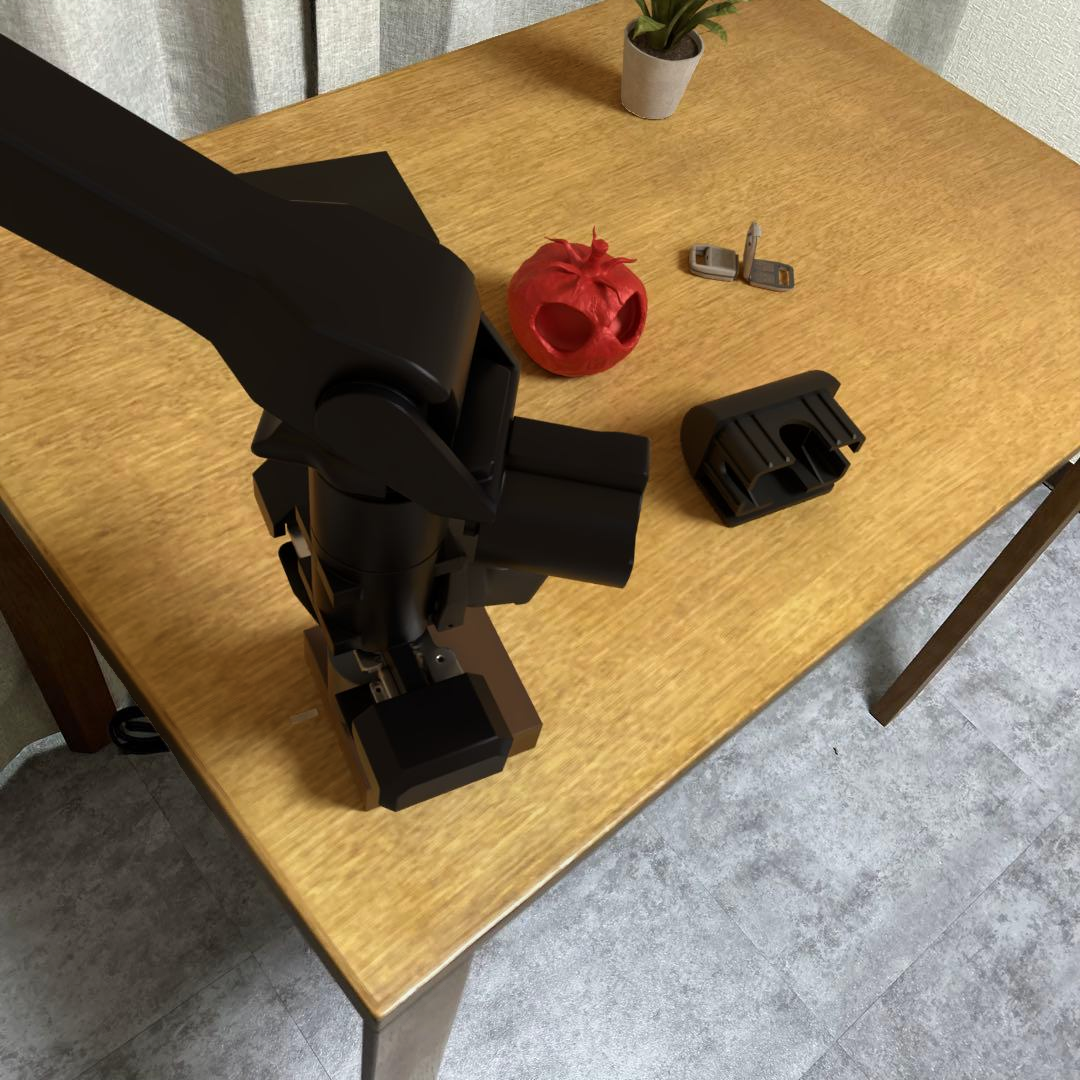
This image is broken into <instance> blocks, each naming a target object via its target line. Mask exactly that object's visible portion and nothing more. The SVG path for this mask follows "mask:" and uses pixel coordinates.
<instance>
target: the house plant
mask: <svg viewBox="0 0 1080 1080" xmlns="http://www.w3.org/2000/svg"><path fill="white" fill-rule="evenodd" d="M634 1H635V2H636V4H637V5H638V6H639V8H640V10H641V12H642V14H640V15H638V17H636V18H633V19H631V20H630V21H629V22H628V23H627V24H626V26H625V27H624V30H623V34H624V35H623V50H622V69H621V70H622V71H621V87H620V88H621V89H620V93H621V94H620V101H621V100H622V102H621V104H622V103H623V104H624V106H625V107H626V108H627V109H628V110H630V111H631V112H634V113H635V114H637V115H639V116H641V117H645V118H653V119H658V118H659V119H660V118H665V117H668V116H670V115H672V114H673V113H674V114H675V113H676V110H677V108H678V106H679V104H680V102H681V100H682V98H683V95H684V94H685V91H686V89H687V87H688V85H689V83H690V81H691V78H692V76H693V75H694V72H695V71H696V69H697V66H698V64H699V62H700V60H701V58H702V55H703V54H704V51H705V42H704V40H703V38H702V36H701V35H702V34H704V33H712V34H714V35H716V36H717V37H718V38H719V39H721V40H722V41H723V43H724V44H725V46H726V48H728V34H727V32H726V29H725V28H724V27H723V26H722V25H721V24H720V23H719V22H716V21H714V20H711V18H716V17H720V16H727V15H732V14H740V15H742V14H743V13H742V12H741V11H740V9H738V8H737V7H736V6H735V4H736V5H737V6H739V5H738V4H739V3H745V2H746V3H750V2H751V3H752V2H755V0H724V1H722V2H715V1H714V0H650V5H651V6H650V9H651V12H650V11H649V8H648V5H647V2H646V0H634ZM708 1H709V2H711V3H713V4H711V5H708V6H706V7H703V6H705V4H707V2H708ZM702 7H703V8H702ZM701 8H702V9H701ZM700 9H701V10H700ZM699 25H701V26H703V27H705V28H707V29H708V30H706V31H705V32H700V33H698V31H697V30H695V29H696V28H697V27H698V26H699ZM624 106H623V107H624ZM674 114H673V115H674ZM673 115H672V116H673Z"/></svg>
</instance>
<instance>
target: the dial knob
mask: <svg viewBox="0 0 1080 1080" xmlns="http://www.w3.org/2000/svg"><path fill="white" fill-rule="evenodd" d="M412 645H413V644H410V646H411V648H412ZM327 650H328V701H329V704H330V707H331V709H332V711H333V713H334V714H335V716H336V717H337V718H338V719H339V720H340V721H341V722H342V723H344V724H345V725H346V723H345V721H344V718H343V716H342V713H341V711H340V708H339V706H338V703H337V701H336V698H335V694H336V693H339V692H342V691H345V690H348V689H351V688H354V687H357V686H360V685H363V684H366V683H369V682H372V681H375V680H378V679H379V677H378V670H377V671H374V672H371V673H364V672H362V670H361V668H360V666H359V663H358V661H357V659H356V656H355V654H354V652H353V651H350V652H347V653H344V654H341V655H337V656H333V654H332V652H331V649H330V647H329V644H328V647H327ZM415 652H417V651H413V653H414V655H415ZM375 654H380V655H381V659H380V660H379V661H383V662H384V666H387V665H386V663H385V661H384V658H383V656H382V654H381V652H377V653H375ZM384 666H383V667H384Z"/></svg>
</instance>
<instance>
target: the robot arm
mask: <svg viewBox="0 0 1080 1080" xmlns="http://www.w3.org/2000/svg"><path fill="white" fill-rule="evenodd" d="M235 174H236V173H234V172H232V171H230V170H229V169H227V168H225V167H224V166H222V165H221V164H219V163H217V162H215V161H214V160H213V159H211V158H209V157H207V156H205V154H202V153H200V152H199V151H197V150H196V149H194V148H193V147H190V146H189V145H187V144H186V143H184V142H182V141H181V140H179V139H177V138H176V137H174V136H172V135H171V134H169V133H167V132H166V131H164V130H163V129H161V128H159V127H157V126H156V125H154V124H153V123H151V122H149V121H147V120H146V119H144V118H142V117H140V116H139V115H138V114H136V113H134V112H133V111H131V110H129V109H127V108H126V107H125V106H122V105H121V104H119V103H118V102H116V101H115V100H113V99H111V98H109V97H107V96H106V95H104V94H102V93H101V92H99V91H98V90H96V89H95V88H92V87H91V86H89V85H88V84H85V82H83V81H81V80H79V79H78V78H76V77H74V76H73V75H71V74H69V73H68V72H66V71H64V70H63V69H61V68H59V67H57V66H56V65H54V64H52V63H51V62H49V61H48V60H46V59H44V58H43V57H41V56H39V54H36V53H35V52H33V51H31V50H29V49H28V48H26V47H25V46H23V45H21V44H19V43H18V42H16V41H15V40H13V39H11V38H9V37H8V36H6V35H5V34H3V33H1V32H0V227H1V228H3V229H5V230H7V231H9V232H10V233H12V234H14V235H16V236H18V237H20V238H22V239H24V240H25V241H27V242H29V243H31V244H33V245H35V246H37V247H39V248H40V249H43V250H45V251H46V252H48V253H50V254H52V255H53V256H56V257H58V258H60V259H61V260H63V261H65V262H67V263H69V264H71V265H72V266H74V267H77V268H78V269H80V270H82V271H84V272H86V273H88V274H90V275H92V276H94V277H95V278H97V279H99V280H100V281H103V282H105V283H107V284H109V285H110V286H112V287H114V288H116V289H118V290H120V291H121V292H124V293H126V294H128V295H129V296H132V297H133V298H135V299H137V300H138V301H141V302H143V303H144V304H146V305H148V306H150V307H152V308H153V309H156V310H158V311H159V312H162V313H163V314H165V315H167V316H169V317H171V318H173V319H175V320H176V321H178V322H180V323H181V324H183V325H184V326H186V327H188V328H189V329H191V330H192V331H193V332H195V333H196V334H198V336H201V337H202V338H203V339H205V340H207V341H208V342H209V343H210V344H211V345H212V346H213V347H214V349H215V350H216V352H217V353H218V355H219V356H220V358H221V359H222V361H224V363H225V365H226V366H227V367H228V369H229V370H230V372H231V373H232V374H233V376H234V377H235V379H236V381H238V383H239V385H240V386H241V387H242V389H243V390H244V391H245V393H246V394H247V395H248V397H249V398H250V399H251V400H252V402H254V404H256V405H257V406H258V407H260V408H262V409H263V410H262V412H261V416H260V417H259V421H258V424H257V427H256V428H255V429H256V430H255V432H254V435H253V438H252V441H251V444H250V451H251V453H252V454H253V455H254V456H256V457H258V458H260V459H265V460H264V461H263V462H262V463H261V464H260V465H259V466H258V467H257V468H256V469H255V470H254V471H253V472H252V475H251V476H252V486H253V496H254V499H255V501H256V504H257V506H258V509H259V511H260V513H261V516H262V519H263V521H264V524H265V526H266V529H267V531H268V535H269V536H271V537H272V538H273V539H277V538H281V537H283V536H287V533H288V537H289V538H290V540H289V541H285V542H284V543H282V544H281V545H280V546H279V547H278V550H277V555H278V558H279V559H278V560H279V561H280V564H281V567H282V568H283V571H284V573H285V576H286V578H287V582H288V583H289V586H290V588H291V591H292V593H293V595H294V596H295V597H296V599H297V600H298V601H299V603H301V605H302V607H304V609H305V610H306V612H307V613H308V614H309V615H310V616H311V617H312V618H313V620H314V621H315V622H316V624H317V626H318V625H319V626H320V627H321V629H322V630H323V632H324V634H325V637H326V639H327V642H328V644H329V647H330V649H331V652H332V654H333V656H337V655H341V654H344V653H347V652H350V651H353V652H354V654H355V656H356V659H357V661H358V663H359V666H360V668H361V670H362V672H364V673H371V672H374V671H377V670H378V677H379V679H378V680H375V681H372V682H369V683H366V684H363V685H360V686H357V687H354V688H351V689H348V690H345V691H342V692H339V693H336V694H335V698H336V701H337V703H338V706H339V708H340V711H341V713H342V716H343V718H344V721H345V723H346V726H347V728H348V731H349V733H350V736H351V738H352V740H353V741H354V743H355V744H356V748H357V752H358V755H359V758H360V760H361V763H362V765H363V768H364V770H365V773H366V775H367V778H368V780H369V783H370V785H371V788H372V790H373V793H374V795H375V798H376V800H377V803H378V805H379V806H380V807H381V808H384V809H386V810H389V811H391V812H394V813H398V812H400V811H402V810H405V809H408V808H412V806H416V805H418V804H421V803H424V802H426V801H429V800H432V799H434V798H437V797H439V796H442V795H445V794H447V793H450V792H453V791H454V790H455V791H456V790H457V789H460V788H463V787H465V786H466V787H467V786H468V785H470V784H473V783H476V782H478V781H482V780H483V779H487V778H489V777H491V776H494V775H497V774H500V773H502V772H504V769H505V766H506V763H507V761H508V759H509V758H508V756H509V753H510V750H511V747H512V743H513V740H514V738H513V736H512V734H511V732H510V730H509V728H508V726H507V724H506V721H505V719H504V717H503V715H502V713H501V711H500V709H499V707H498V705H497V703H496V701H495V699H494V697H493V694H492V692H491V690H490V688H489V686H488V684H487V682H486V680H485V678H484V676H483V675H479V674H474V673H469V672H465V673H464V672H463V669H462V667H461V665H460V663H459V661H458V659H457V657H456V655H455V653H454V652H453V651H452V650H451V649H450V648H447V647H445V646H437V645H435V643H434V642H433V640H432V637H431V635H430V633H429V631H428V629H427V626H431V625H434V626H435V628H436V630H437V632H442V631H446V630H449V629H452V628H455V627H458V626H461V625H463V622H464V617H465V611H466V607H472V608H476V607H485V608H486V607H493V606H501V605H502V606H503V605H510V604H511V605H512V604H514V605H515V606H521V605H526V604H528V603H530V601H532V599H533V598H534V596H535V595H536V594H537V592H538V591H539V590H540V589H541V587H542V586H543V584H544V583H545V581H546V580H547V579H548V578H549V577H553V578H558V579H559V578H560V579H565V580H570V581H576V582H582V583H587V584H593V585H598V586H604V587H610V588H616V589H620V590H621V589H622V590H623V589H624V588H625V587H626V586H627V584H628V582H629V580H630V578H631V575H632V572H633V569H634V565H635V556H636V543H637V542H636V541H637V532H638V528H639V523H640V518H641V511H642V505H643V499H644V493H645V491H646V488H647V485H648V482H649V480H650V471H651V458H652V457H651V456H652V440H651V438H649V436H645V435H641V434H635V433H629V432H624V431H610V430H605V431H604V430H594V429H588V428H583V427H578V426H573V425H572V426H571V425H566V424H561V423H556V422H550V421H545V420H540V419H534V418H529V417H524V416H518V415H515V414H514V413H515V410H516V403H517V396H518V390H519V385H520V378H521V373H522V363H521V361H520V360H519V358H518V357H517V356H516V354H515V352H514V351H513V350H512V349H511V348H510V346H509V344H507V342H506V341H505V339H504V337H502V335H501V333H500V332H499V331H498V330H497V328H496V326H495V325H494V324H493V323H492V321H491V320H490V318H489V317H488V315H487V314H486V313H485V311H484V310H483V309H482V307H483V306H482V303H481V299H480V295H479V292H478V287H477V286H476V283H475V282H476V276H475V274H474V272H473V271H472V270H471V268H470V267H469V266H468V264H467V263H466V262H465V261H464V260H463V259H462V258H461V257H460V256H458V254H456V253H455V252H454V251H453V250H451V249H450V248H448V247H447V246H445V245H443V244H441V243H438V242H436V241H434V240H432V239H430V238H428V237H425V236H423V235H421V234H419V233H416V232H414V231H412V230H410V229H408V228H405V227H403V226H401V225H399V224H396V223H394V222H392V221H390V220H387V219H385V218H383V217H381V216H379V215H376V214H374V213H372V212H370V211H367V210H365V209H363V208H361V207H359V206H356V205H351V204H343V203H328V202H313V201H298V200H288V199H284V198H282V197H280V196H278V195H275V194H273V193H271V192H269V191H266V190H264V189H262V188H259V187H257V186H255V185H253V184H251V183H249V182H247V181H245V180H244V179H242V178H240V177H239V176H237V175H235ZM410 644H413V645H412V648H411V646H410ZM413 651H417V652H415V655H414V653H413ZM377 652H381V654H382V656H383V658H384V661H385V663H386V665H387V666H384V662H383V661H379V660H380V659H381V655H380V654H375V653H377ZM419 658H422V664H421V663H420V660H419ZM383 666H384V667H383Z"/></svg>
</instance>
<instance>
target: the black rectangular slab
mask: <svg viewBox="0 0 1080 1080" xmlns="http://www.w3.org/2000/svg"><path fill="white" fill-rule="evenodd" d="M234 174H235V175H237V176H239V177H240V178H242V179H244V180H245V181H247V182H249V183H251V184H253V185H255V186H257V187H259V188H262V189H264V190H266V191H269V192H271V193H273V194H275V195H278V196H280V197H282V198H284V199H288V200H298V201H313V202H328V203H343V204H351V205H356V206H359V207H361V208H363V209H365V210H367V211H370V212H372V213H374V214H376V215H379V216H381V217H383V218H385V219H387V220H390V221H392V222H394V223H396V224H399V225H401V226H403V227H405V228H408V229H410V230H412V231H414V232H416V233H419V234H421V235H423V236H425V237H428V238H430V239H432V240H434V241H436V242H438V243H440V242H441V241H440V238H439V237H438V235H437V234H436V232H435V230H434V228H433V227H432V225H431V224H430V222H429V220H428V218H427V216H426V215H425V213H424V211H423V210H422V208H421V206H420V205H419V203H418V201H417V200H416V198H415V196H414V195H413V193H412V191H411V189H410V188H409V186H408V184H407V183H406V181H405V180H404V178H403V176H402V174H401V172H400V171H399V169H398V168H397V166H396V164H395V163H394V160H393V159H392V158H391V155H390V154H389V153H388V151H387V150H381V151H375V152H368V153H361V154H356V155H349V156H343V157H336V158H330V159H323V160H316V161H310V162H305V163H299V164H292V165H284V166H278V167H272V168H265V169H259V170H253V171H247V172H241V173H234ZM440 244H441V243H440Z"/></svg>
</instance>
